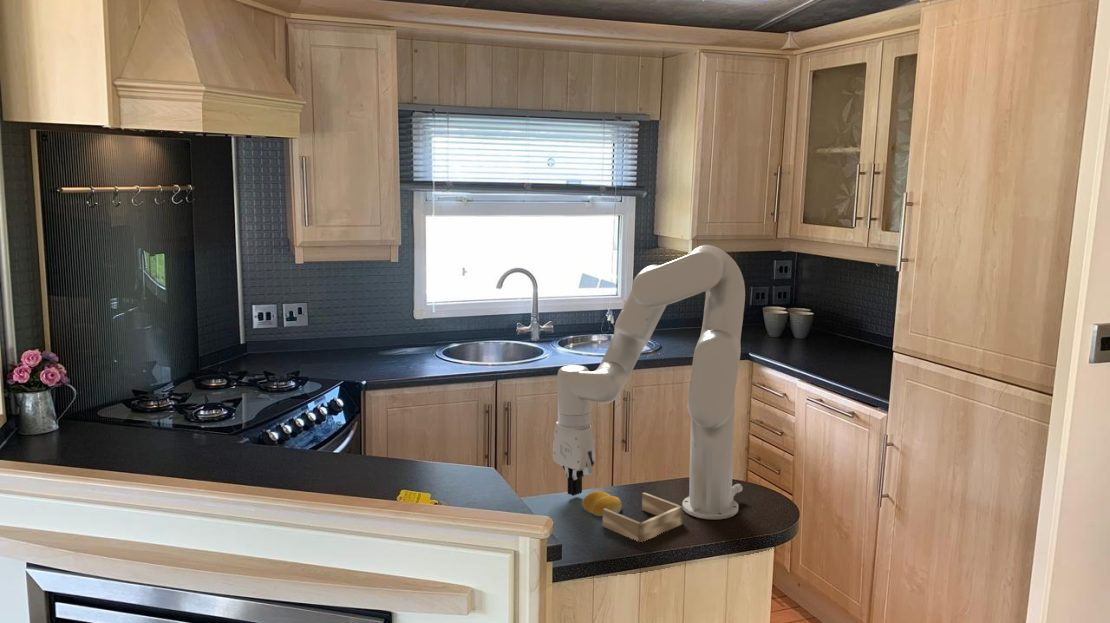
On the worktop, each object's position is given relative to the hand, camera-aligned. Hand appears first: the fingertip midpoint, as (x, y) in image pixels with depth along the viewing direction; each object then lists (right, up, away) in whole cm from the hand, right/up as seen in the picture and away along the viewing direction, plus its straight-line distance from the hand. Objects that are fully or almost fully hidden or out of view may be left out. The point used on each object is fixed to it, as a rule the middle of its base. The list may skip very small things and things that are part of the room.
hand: (574, 493), depth 204 cm
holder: (+14, -4, -15) cm, 21 cm away
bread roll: (+6, -3, -6) cm, 9 cm away
